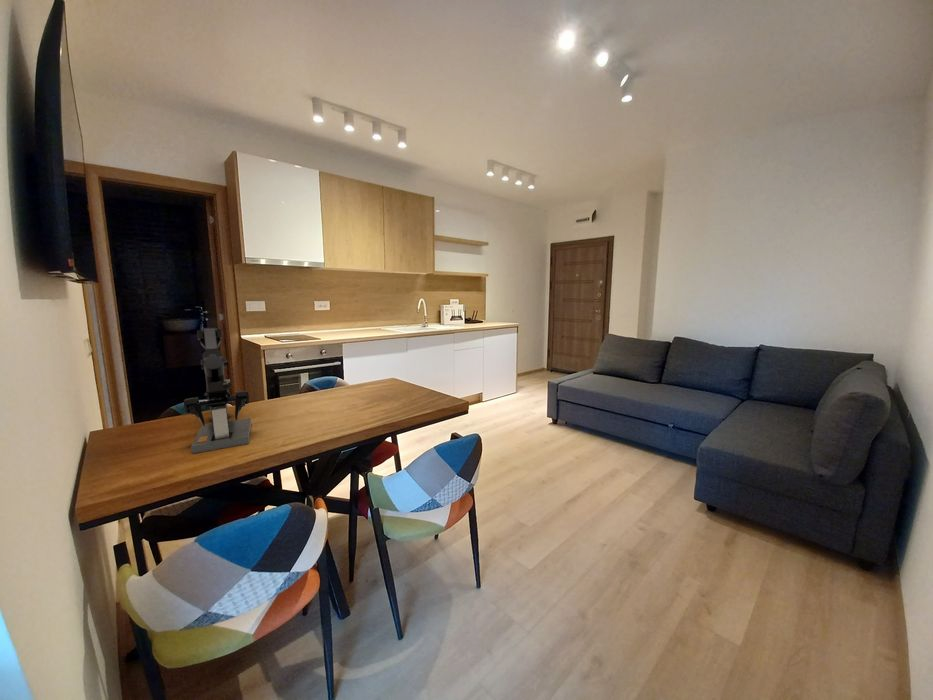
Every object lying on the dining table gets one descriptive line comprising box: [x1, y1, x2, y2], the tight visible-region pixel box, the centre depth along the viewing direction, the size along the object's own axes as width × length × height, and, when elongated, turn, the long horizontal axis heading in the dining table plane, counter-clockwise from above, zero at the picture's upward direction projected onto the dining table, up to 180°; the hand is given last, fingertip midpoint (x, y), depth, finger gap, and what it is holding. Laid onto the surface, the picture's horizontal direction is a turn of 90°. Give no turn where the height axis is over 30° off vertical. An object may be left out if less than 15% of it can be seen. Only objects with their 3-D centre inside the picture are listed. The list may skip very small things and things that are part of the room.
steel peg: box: [212, 405, 229, 440], centre depth 125 cm, size 4×4×13 cm
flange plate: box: [190, 417, 252, 454], centre depth 131 cm, size 22×16×3 cm
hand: (220, 422), depth 123 cm, fingers open, 9 cm apart
